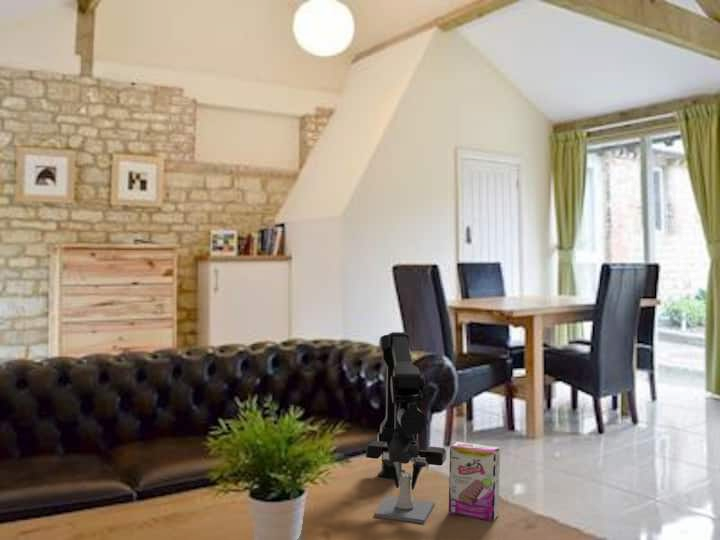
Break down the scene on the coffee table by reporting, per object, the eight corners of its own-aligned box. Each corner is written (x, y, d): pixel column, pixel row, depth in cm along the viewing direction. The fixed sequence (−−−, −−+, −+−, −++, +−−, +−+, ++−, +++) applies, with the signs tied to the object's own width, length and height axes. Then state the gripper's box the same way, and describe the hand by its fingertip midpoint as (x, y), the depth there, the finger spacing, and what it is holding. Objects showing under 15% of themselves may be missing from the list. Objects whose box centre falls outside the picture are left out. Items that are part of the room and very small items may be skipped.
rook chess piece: (414, 504, 153) (414, 471, 153) (414, 510, 149) (414, 476, 149) (396, 503, 154) (396, 470, 154) (395, 509, 149) (395, 475, 149)
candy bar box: (447, 514, 149) (448, 445, 149) (453, 507, 154) (454, 440, 154) (494, 523, 144) (495, 451, 144) (499, 515, 149) (500, 446, 149)
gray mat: (387, 499, 159) (387, 495, 159) (434, 505, 155) (434, 501, 155) (374, 516, 147) (374, 513, 147) (424, 523, 144) (424, 520, 144)
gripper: (359, 428, 146) (358, 494, 146) (438, 435, 141) (437, 505, 141) (372, 417, 157) (371, 479, 157) (447, 424, 151) (446, 488, 151)
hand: (405, 488), depth 151 cm, fingers open, 3 cm apart
